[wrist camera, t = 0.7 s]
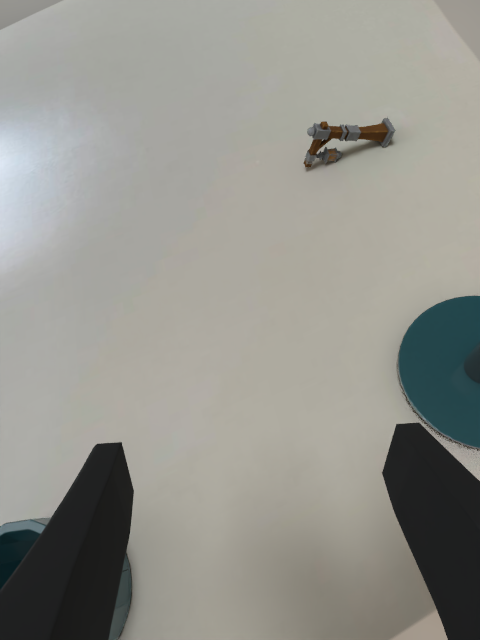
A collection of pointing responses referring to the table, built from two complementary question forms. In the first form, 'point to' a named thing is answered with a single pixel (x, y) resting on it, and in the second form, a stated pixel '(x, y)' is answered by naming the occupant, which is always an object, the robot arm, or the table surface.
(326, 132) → the wooden post with brackets
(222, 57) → the table surface
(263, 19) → the table surface
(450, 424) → the lid
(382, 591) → the table surface
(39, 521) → the tin
